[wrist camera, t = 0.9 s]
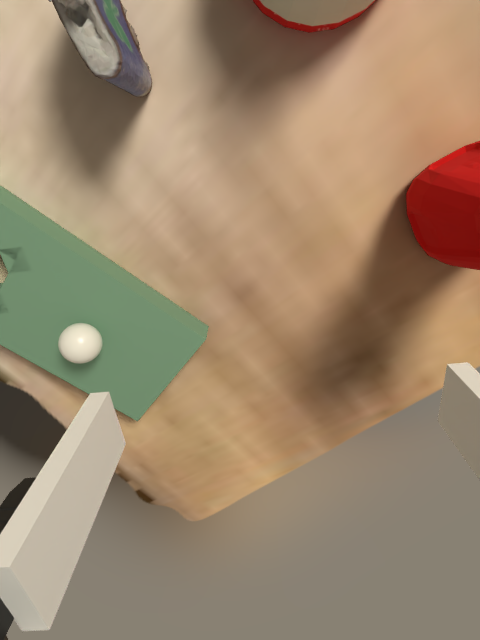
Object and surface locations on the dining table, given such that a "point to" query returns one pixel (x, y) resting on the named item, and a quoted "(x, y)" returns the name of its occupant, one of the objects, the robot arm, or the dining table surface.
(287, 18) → the kitchen timer
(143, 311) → the putting mat
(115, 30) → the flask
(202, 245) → the dining table surface
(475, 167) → the water bottle
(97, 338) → the ball
